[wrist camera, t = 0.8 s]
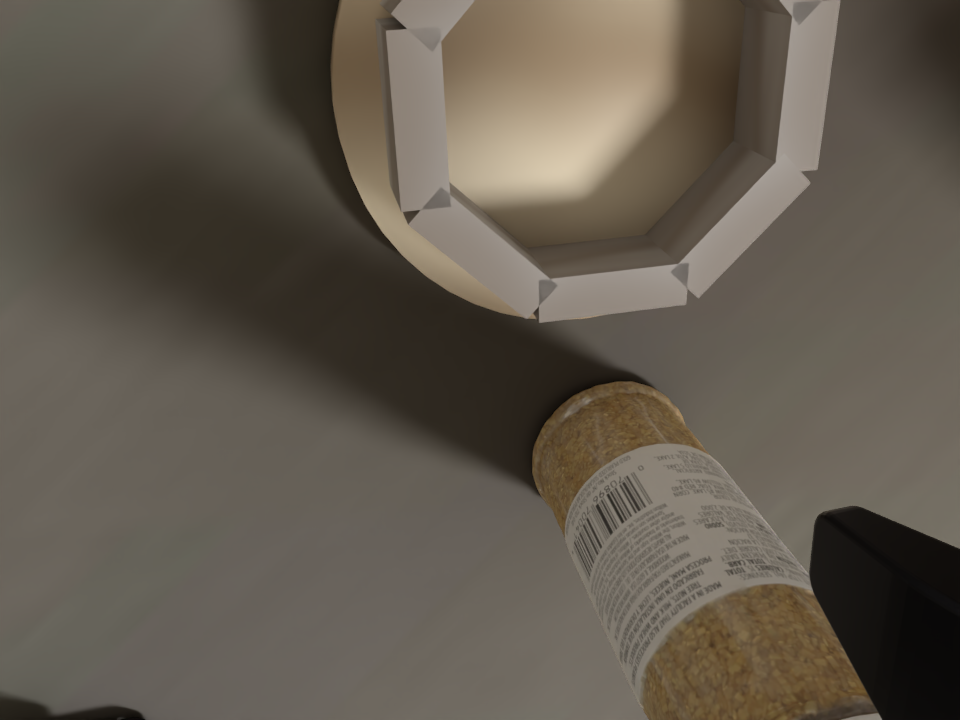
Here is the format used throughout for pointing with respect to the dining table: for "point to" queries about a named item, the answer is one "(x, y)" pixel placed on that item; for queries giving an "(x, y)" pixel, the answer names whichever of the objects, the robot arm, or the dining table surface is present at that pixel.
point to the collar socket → (579, 139)
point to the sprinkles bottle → (687, 569)
